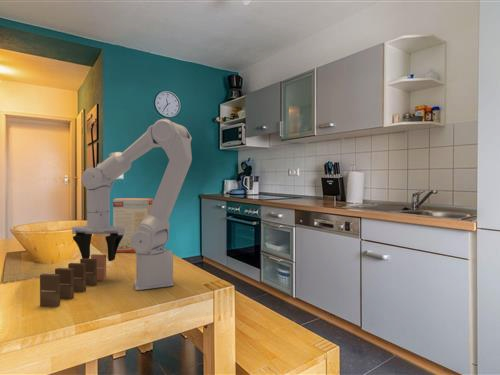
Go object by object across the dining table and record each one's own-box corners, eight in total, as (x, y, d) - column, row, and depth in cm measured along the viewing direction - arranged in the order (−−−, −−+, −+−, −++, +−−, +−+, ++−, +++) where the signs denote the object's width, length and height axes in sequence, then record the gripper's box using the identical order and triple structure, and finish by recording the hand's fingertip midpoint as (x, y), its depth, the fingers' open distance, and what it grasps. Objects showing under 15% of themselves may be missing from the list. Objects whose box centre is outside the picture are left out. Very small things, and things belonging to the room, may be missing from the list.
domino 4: (82, 284, 82) (82, 258, 82) (96, 284, 81) (96, 258, 81) (80, 285, 81) (80, 259, 81) (94, 286, 80) (94, 259, 80)
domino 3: (71, 290, 77) (71, 262, 77) (85, 290, 77) (85, 263, 77) (68, 291, 76) (68, 263, 76) (83, 292, 76) (83, 264, 76)
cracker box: (153, 250, 122) (154, 198, 122) (147, 253, 116) (147, 199, 116) (120, 249, 123) (120, 197, 123) (112, 252, 117) (112, 198, 117)
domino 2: (58, 296, 73) (58, 267, 73) (73, 297, 72) (73, 268, 72) (55, 298, 72) (54, 269, 72) (70, 299, 71) (70, 269, 71)
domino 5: (92, 278, 86) (92, 254, 86) (106, 279, 86) (106, 254, 86) (90, 279, 85) (90, 255, 85) (104, 280, 85) (104, 255, 85)
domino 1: (43, 304, 68) (43, 273, 68) (60, 305, 68) (60, 274, 68) (40, 306, 67) (39, 275, 67) (56, 307, 67) (56, 275, 67)
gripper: (64, 212, 82) (64, 262, 82) (115, 213, 80) (115, 264, 81) (81, 210, 89) (81, 256, 89) (128, 210, 87) (128, 257, 88)
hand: (98, 259), depth 85 cm, fingers open, 7 cm apart
